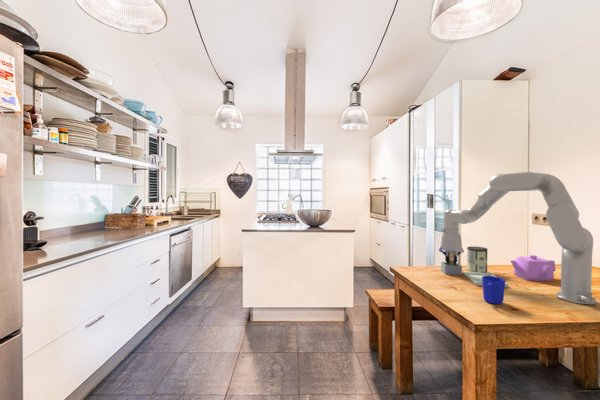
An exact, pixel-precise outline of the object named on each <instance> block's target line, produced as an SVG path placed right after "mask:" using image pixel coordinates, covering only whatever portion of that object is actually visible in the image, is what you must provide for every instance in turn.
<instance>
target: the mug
mask: <svg viewBox="0 0 600 400" xmlns="http://www.w3.org/2000/svg"><path fill="white" fill-rule="evenodd" d="M505 282H506V279H504V277H503V278H502V277H498V276H496V277H494V276H483V277H482V284H483V286H482V294H483V301H485V302H487V303H489V304H493V305H500V304H501V305H502V304H503V302H504V296H505Z"/></svg>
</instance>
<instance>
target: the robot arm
mask: <svg viewBox="0 0 600 400" xmlns="http://www.w3.org/2000/svg"><path fill="white" fill-rule="evenodd" d="M488 182H489V183H488V185H487V186H486V187H485V188H484V189H483V190H482V191H480V192H479V193H478V198H477V200H476V202H475V203H474V204H473V205H472V206H470V207H469V208H468V209H463V210H456V209H446V210H444V212H443V228H441V230H440V231H441V232H442V235H441V242H440V243H441V245H440V247H439V248H438V251H439V252H440V253H442V254H443V255H444V257H445V261H444V262H447V263H449V256H448V252H449V251H453V252H454V263H455V264H456V263H458V257H459V256H460V255H461V254H463V253H465V251H464V249H463V244H462V236H461V234H460V231H459V230H460V227H459V224H462V225H466V224H472V223H474V222H475V223H476V221H478V220H479V219H481V217H483V216H484V215H485V214H486V213H487V212H488V211H489V210H490V209H491V208H492V207H493V206H494V205H495V204H496V203H498V201H499V200H501V199H502V198H503V197H504V196H505V195H507V194H508V193H510V192H522V191H525V192H526V191H529V192H533V191H539V192H540V193H541V194H542V196H543V199H544V201H545V203H546V205H547V210H546V212H545V213H546V214H545V217H546V220H547V223H548V226H550V230H551V231H552V233H553V236H554V238H555V240H556V242H557V244H558V245H559V246H560V247H561V261H560V267H561V268H560V291H558V292H556V293H555V296H556V297H557V298H559V299H560V300H563V301H566V302H570V303H573V304H574V303H575V304H579V305H596V304H597V300H596V298H594V297H593V292H592V274H593V273H592V270H593V269H592V267H593V250H594V249H593V248H594V236H593V234H592V233H591V231H590V230H589V229H586V228H585V227H583V226H582V224H581V222H580V220H579V219H580V212H579V209H578V208H577V207H576V204H575V202H574V201H573V198H572V196H571V195H570V194H569V192H568V190H567V188H566V186H565V185H564V183H563V182H562V181H561V180H560V178H558V177H556V176H555V175H552V174H550V173H544V172H543V173H542V172H541V173H540V172H533V171H525V172H524V171H523V172H512V173H499V174H495V175H494V176H491V178H490V180H489V181H488Z"/></svg>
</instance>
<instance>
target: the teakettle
mask: <svg viewBox="0 0 600 400" xmlns="http://www.w3.org/2000/svg"><path fill="white" fill-rule="evenodd" d="M510 263H511V265H512V266H513V273H514V276H516V277H518V278H521V279H523V280H525V279H526V281H532V280H534V281H535V282H552V281H554V277H555V272H556V261H555V260H552V259H545V258H541V257H538V255H534V254H530V255H529V256H517V257H516V258H515V260H514V259H513V260H512V259H511V260H510ZM534 281H533V282H534Z"/></svg>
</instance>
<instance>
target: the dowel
mask: <svg viewBox="0 0 600 400" xmlns="http://www.w3.org/2000/svg"><path fill="white" fill-rule="evenodd" d="M448 256H449V263H448V265H451V266H454V252H453V251H449V252H448Z"/></svg>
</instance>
